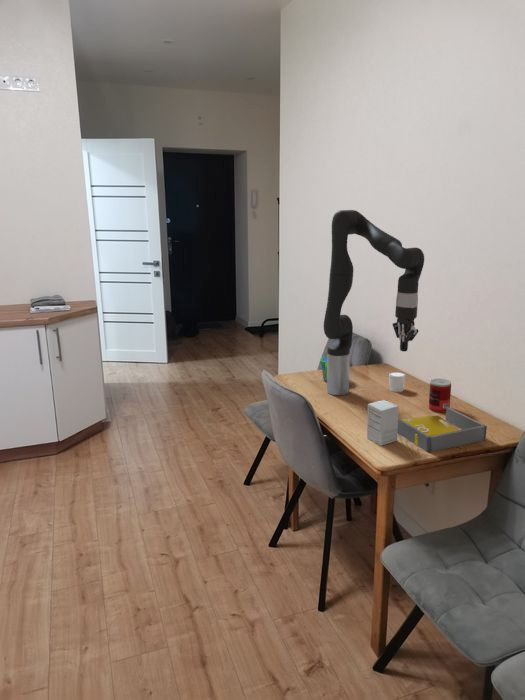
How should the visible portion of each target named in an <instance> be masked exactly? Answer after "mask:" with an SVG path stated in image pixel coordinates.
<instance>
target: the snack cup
mask: <svg viewBox="0 0 525 700" xmlns="http://www.w3.org/2000/svg"><path fill="white" fill-rule="evenodd" d="M319 363H320V364H321V371H322V373H321V374H322V379H323V381H324V382H326V383H327V356H322V357H321V358H320V360H319Z"/></svg>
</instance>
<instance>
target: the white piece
mask: <svg viewBox="0 0 525 700" xmlns="http://www.w3.org/2000/svg"><path fill="white" fill-rule="evenodd" d="M388 378H389V379H388V382H389V390H390V391H391V392H393V393H401V392H403V391H404V388H405V380H406V374H405V373H404V372H399V371H396V372H395V371H393V372H389V374H388Z"/></svg>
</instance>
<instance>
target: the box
mask: <svg viewBox="0 0 525 700" xmlns="http://www.w3.org/2000/svg"><path fill="white" fill-rule="evenodd" d="M402 419H403V418H401V417H398V430H397V434H399V435H400V436H401V437H403V438H405V439H407V440H408V441H410V442H411V443H413V444H414V445H415V434H417V435H418V445H416V446H417V447H419V448H421V449H422V450H423V451H425V452H427V453H433V452H438V451H442V450H447V449H451V448H457V447H459V446H460V447H461V446H465V445H469V444H473V443H477V442H478V443H479V442H483V441H486V440H487V439H486V438H487V427H488V426H487V425H485V424H484V423H481V422H479V421H477V420H475V419H473V418H471V417H469V416H468V415H465V414H463V413H461V412H459V411H457V410H455V409H453V408H451V407H450V408H449V407H448V408H447V409H446V412H445V421H447V422H448V423H449V424H451V425H452V426H454V427H458V428H459V429H457V430H458V431H453V432H449V433H444V434H439V435H434V436H428V435H427V434H425V433H423V432H422V431H420V430H418V429H417V428H415V427H413V426H412V425H410V424H408V423H407V422H405V421H403V420H402Z"/></svg>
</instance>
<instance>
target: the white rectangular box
mask: <svg viewBox="0 0 525 700" xmlns="http://www.w3.org/2000/svg"><path fill="white" fill-rule="evenodd" d="M366 418H367V421H366V422H367V423H366V428H367V429H366V430H367V431H366V438H367V440H370V441H371V442H374V443H375V444H377V445H379V446H384V445H388V444H392V443H395V442H397V441H398V433H397V430H398V418H399V405H397V404H395V403H392V402H390V401H387V400H385V399H382V400H379V401H374V402H370V403H368V404H367V417H366Z"/></svg>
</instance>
